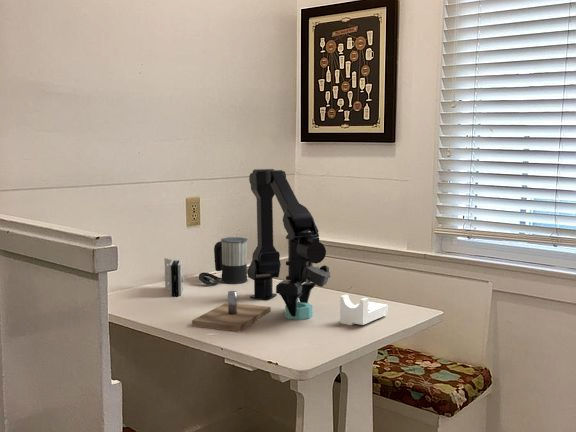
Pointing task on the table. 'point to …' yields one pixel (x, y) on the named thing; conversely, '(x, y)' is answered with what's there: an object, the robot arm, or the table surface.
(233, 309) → the steel post
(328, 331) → the table surface
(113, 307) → the table surface
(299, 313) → the teal ring
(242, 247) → the milk frother
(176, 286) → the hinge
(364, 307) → the bracket
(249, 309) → the walnut base board
